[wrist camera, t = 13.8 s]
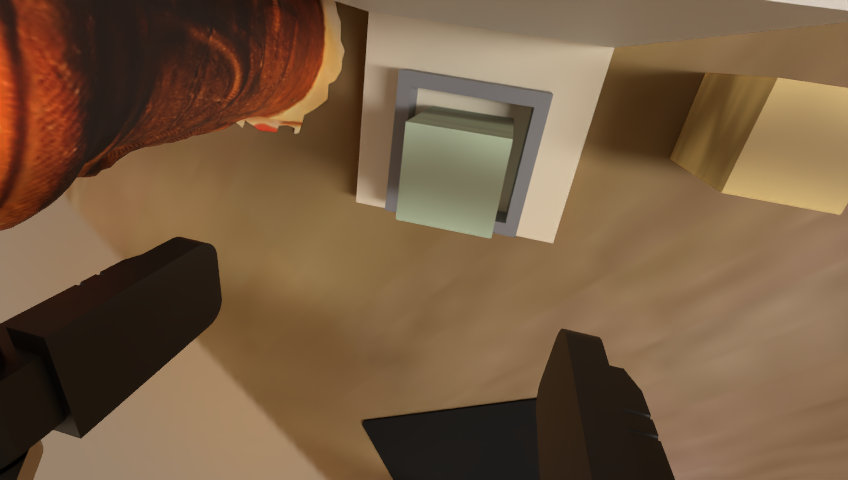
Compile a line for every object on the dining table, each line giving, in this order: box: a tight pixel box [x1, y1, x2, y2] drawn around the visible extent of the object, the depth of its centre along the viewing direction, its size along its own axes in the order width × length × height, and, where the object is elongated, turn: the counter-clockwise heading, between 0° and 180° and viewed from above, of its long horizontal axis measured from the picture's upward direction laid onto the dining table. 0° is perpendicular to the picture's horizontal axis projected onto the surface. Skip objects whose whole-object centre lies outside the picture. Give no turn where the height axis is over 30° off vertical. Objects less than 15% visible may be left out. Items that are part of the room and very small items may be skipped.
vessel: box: [0, 0, 345, 230], centre depth 18 cm, size 14×14×20 cm
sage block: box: [396, 106, 514, 239], centre depth 22 cm, size 5×5×7 cm
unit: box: [333, 0, 848, 243], centre depth 17 cm, size 14×14×20 cm
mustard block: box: [670, 73, 848, 215], centre depth 20 cm, size 5×5×7 cm
